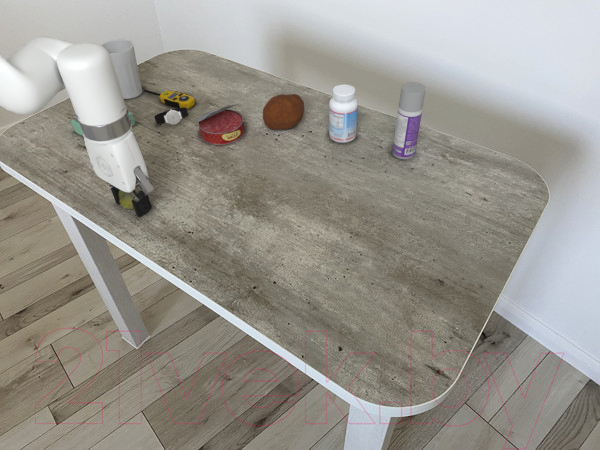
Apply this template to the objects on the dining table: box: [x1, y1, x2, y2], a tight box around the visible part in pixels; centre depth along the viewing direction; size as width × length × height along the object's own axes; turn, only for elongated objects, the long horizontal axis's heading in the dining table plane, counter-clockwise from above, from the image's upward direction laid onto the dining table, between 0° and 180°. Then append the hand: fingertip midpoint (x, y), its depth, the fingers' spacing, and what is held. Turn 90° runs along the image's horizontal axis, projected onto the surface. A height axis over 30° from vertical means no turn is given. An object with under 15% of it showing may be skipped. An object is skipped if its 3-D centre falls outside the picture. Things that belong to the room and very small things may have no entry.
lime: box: [119, 190, 135, 211], centre depth 89 cm, size 4×5×5 cm
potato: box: [262, 93, 305, 131], centre depth 107 cm, size 8×11×8 cm
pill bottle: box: [328, 83, 359, 144], centre depth 102 cm, size 6×6×11 cm
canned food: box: [196, 103, 245, 146], centre depth 106 cm, size 11×10×10 cm
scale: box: [70, 111, 136, 137], centre depth 110 cm, size 10×9×3 cm
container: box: [391, 81, 426, 160], centre depth 96 cm, size 5×5×15 cm
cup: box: [100, 38, 143, 100], centre depth 118 cm, size 8×8×12 cm
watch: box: [154, 108, 189, 125], centre depth 111 cm, size 8×5×4 cm, turn 118°
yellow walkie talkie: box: [143, 89, 196, 110], centre depth 119 cm, size 5×2×15 cm
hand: (134, 205), depth 91 cm, fingers closed on lime, 5 cm apart
